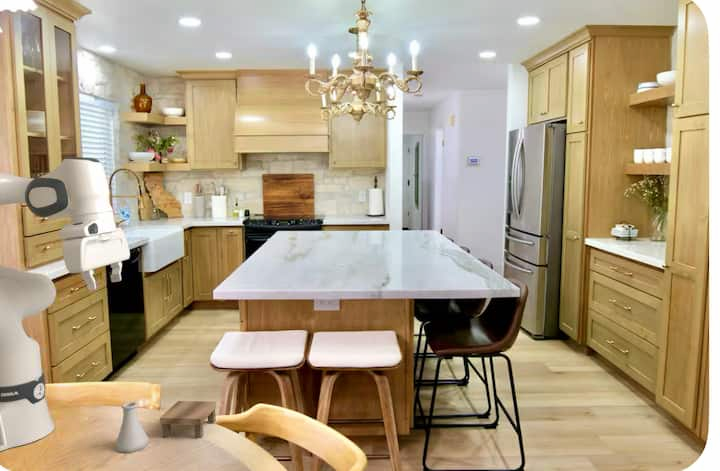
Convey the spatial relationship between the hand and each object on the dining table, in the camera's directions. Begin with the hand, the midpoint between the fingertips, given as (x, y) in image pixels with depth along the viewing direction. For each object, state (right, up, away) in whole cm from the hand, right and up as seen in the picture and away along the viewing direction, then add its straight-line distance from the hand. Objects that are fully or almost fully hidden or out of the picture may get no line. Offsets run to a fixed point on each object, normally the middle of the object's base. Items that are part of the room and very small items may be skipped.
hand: (105, 285), depth 127 cm
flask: (+6, -37, 0) cm, 38 cm away
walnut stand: (+17, -36, +7) cm, 41 cm away
